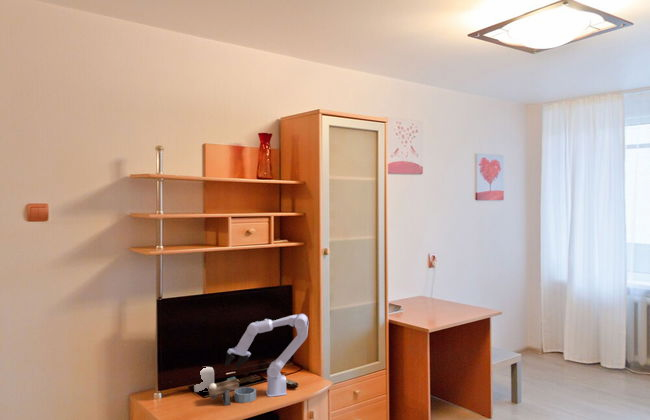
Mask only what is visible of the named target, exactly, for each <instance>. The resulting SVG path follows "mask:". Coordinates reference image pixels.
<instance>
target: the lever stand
mask: <svg viewBox="0 0 650 420" xmlns="http://www.w3.org/2000/svg"><path fill="white" fill-rule="evenodd" d="M230 392H231V391H230V389H225V393H222V395H221V399H222V402H223V405H224V406H231V405H232V402H231V399H230V398H231V393H230Z"/></svg>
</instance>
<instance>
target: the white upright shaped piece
mask: <svg viewBox="0 0 650 420" xmlns="http://www.w3.org/2000/svg"><path fill="white" fill-rule="evenodd" d="M205 367H206V368H203V369H202V370H201V371H200V375H201V379H202V380H203V382H201V383H200V384H196V385H194V384H193V390H194V393H200V392H199V391H202V390H204V389H205V388H207V389H208V387H207V386H210V384H212V383H215V369H214V368H213V367H212V366H205Z"/></svg>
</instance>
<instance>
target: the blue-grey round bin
mask: <svg viewBox="0 0 650 420" xmlns="http://www.w3.org/2000/svg"><path fill="white" fill-rule="evenodd" d="M233 399H234V401H235V403H239V404H241V403H242V404H246V403H251V402H254V401H255V400H257V389H256V387H252V386H241V387H239V388H238V389H235V390H233Z"/></svg>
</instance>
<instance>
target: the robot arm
mask: <svg viewBox="0 0 650 420" xmlns="http://www.w3.org/2000/svg"><path fill="white" fill-rule="evenodd" d="M309 324H310V321H309V318H308V316H307V315H306V314H305V313H299V314H292V315H287V316H285V317H281V318H279V319H276V320H275V319H274V320H272V319H269V318H265V319H264V320H261V321H260V320H259V321H258V320H257V321H255V322H251V323H250V324H249V325H248V326H247V328H246V330H245V332H244V333H243V335H242V336H241V338H240V339H239V342H238V344H237V345H236V346H235V347H232V348H228V350H226V358H225V362H224V366H225V367H227V368H228V367H229V366H230V364H231V363H232V362H233V360H234V359H236V357H235V355H238V356H239V357H238V360H237V362H236V363H235V367H236V368H237V369H239V368H240V367H241V366H242V365H243V364H244V363H246V362H247V361H248V360H249V357H250V356H251V355H252V353H251V352H250V351H248V350H249V348H250V346H251V344H252V342H253V341H254V339H255V337H256V336H257V334H261V333H265V332H266V333H267V332H270V331H273V329H274V328H277V327H282V326H286V325H288V326H290V327H295V329H296V334H297V335H296V336H295V337H294V339H292V341H291V342H290V343H289V344H288V346H287V347H286V348H285V349H284V350H283V351H282V353H281V354H280V355H279V356H278V357H277V358H276V359H274V360H273V361H271V363H270V364H269V367H268V368H267V370H266V374H267V381H266V382H267V390H265V393H266V395H267V397H269V398H270V397H277V396H279V397H280V396H286V395H287V377H286V376H285V375H283V374H282V373H281V370H282V369H283V367H284V366H285V365H286V363H287V362H288V361H289V360H290V359H291V357H292V356H293V355H294V354H295V353H296V351H297V350H298V349H299V348H300V347H301V345H303V343H304V342H305V341H306V340H307V338H308V335H309V333H308V332H309Z"/></svg>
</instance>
